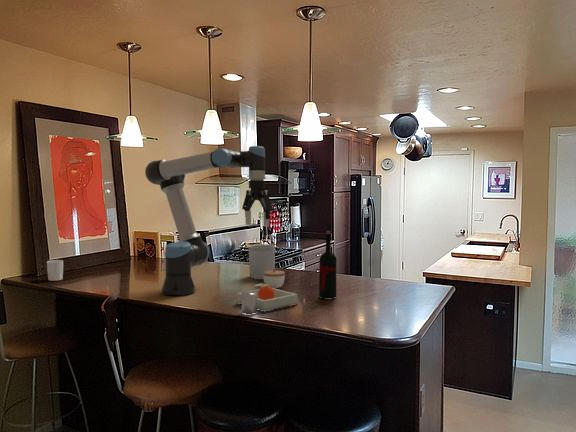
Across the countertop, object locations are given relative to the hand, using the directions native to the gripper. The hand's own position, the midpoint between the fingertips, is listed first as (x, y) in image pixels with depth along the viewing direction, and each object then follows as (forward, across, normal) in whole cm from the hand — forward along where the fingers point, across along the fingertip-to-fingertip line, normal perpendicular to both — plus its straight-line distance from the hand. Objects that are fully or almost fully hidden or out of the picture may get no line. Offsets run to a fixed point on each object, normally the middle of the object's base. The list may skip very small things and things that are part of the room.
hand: (257, 225), depth 212 cm
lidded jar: (+32, +3, -13) cm, 35 cm away
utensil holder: (+32, +28, -25) cm, 49 cm away
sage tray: (+32, -20, +10) cm, 39 cm away
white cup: (+32, +94, +63) cm, 118 cm away
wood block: (+32, -6, +2) cm, 32 cm away
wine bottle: (+32, -29, -17) cm, 46 cm away
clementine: (+31, -20, +10) cm, 38 cm away
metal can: (+32, -26, +24) cm, 48 cm away
